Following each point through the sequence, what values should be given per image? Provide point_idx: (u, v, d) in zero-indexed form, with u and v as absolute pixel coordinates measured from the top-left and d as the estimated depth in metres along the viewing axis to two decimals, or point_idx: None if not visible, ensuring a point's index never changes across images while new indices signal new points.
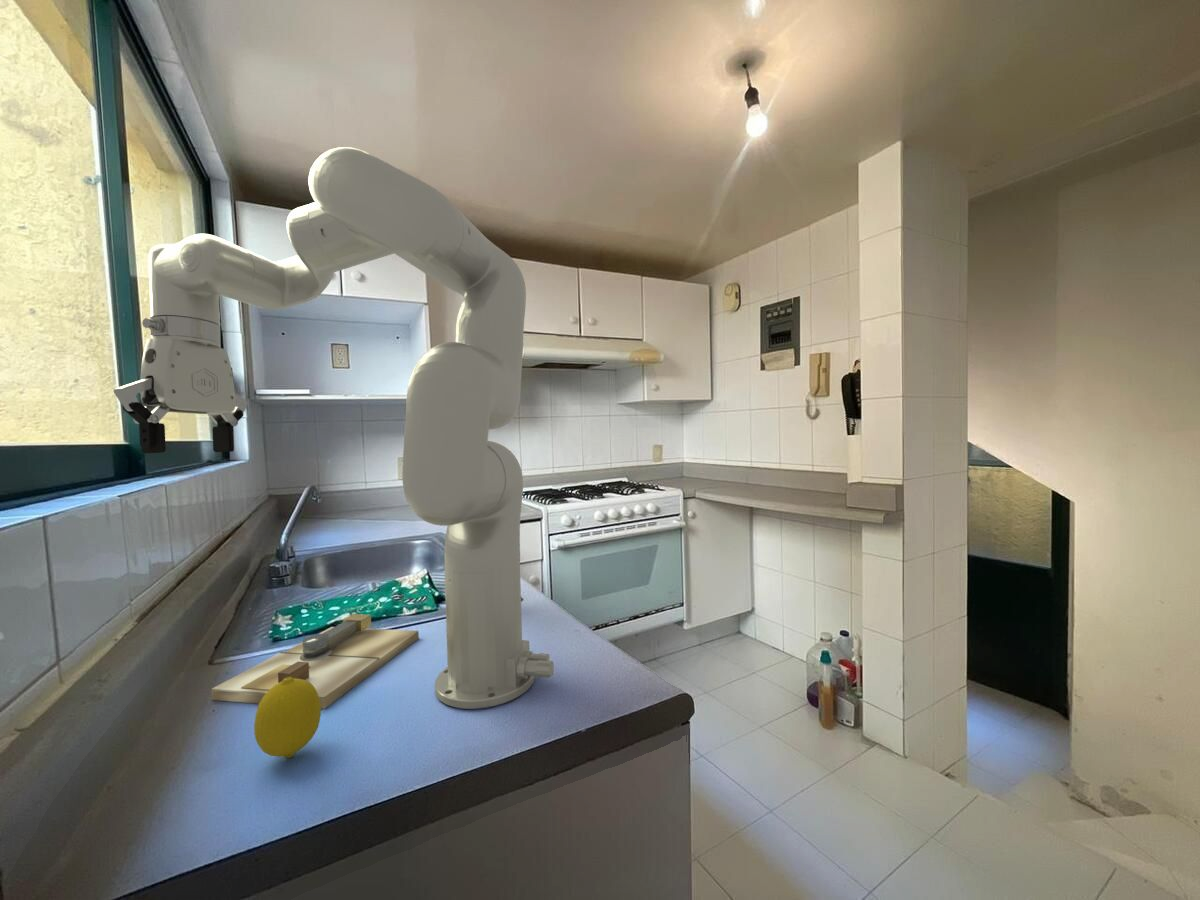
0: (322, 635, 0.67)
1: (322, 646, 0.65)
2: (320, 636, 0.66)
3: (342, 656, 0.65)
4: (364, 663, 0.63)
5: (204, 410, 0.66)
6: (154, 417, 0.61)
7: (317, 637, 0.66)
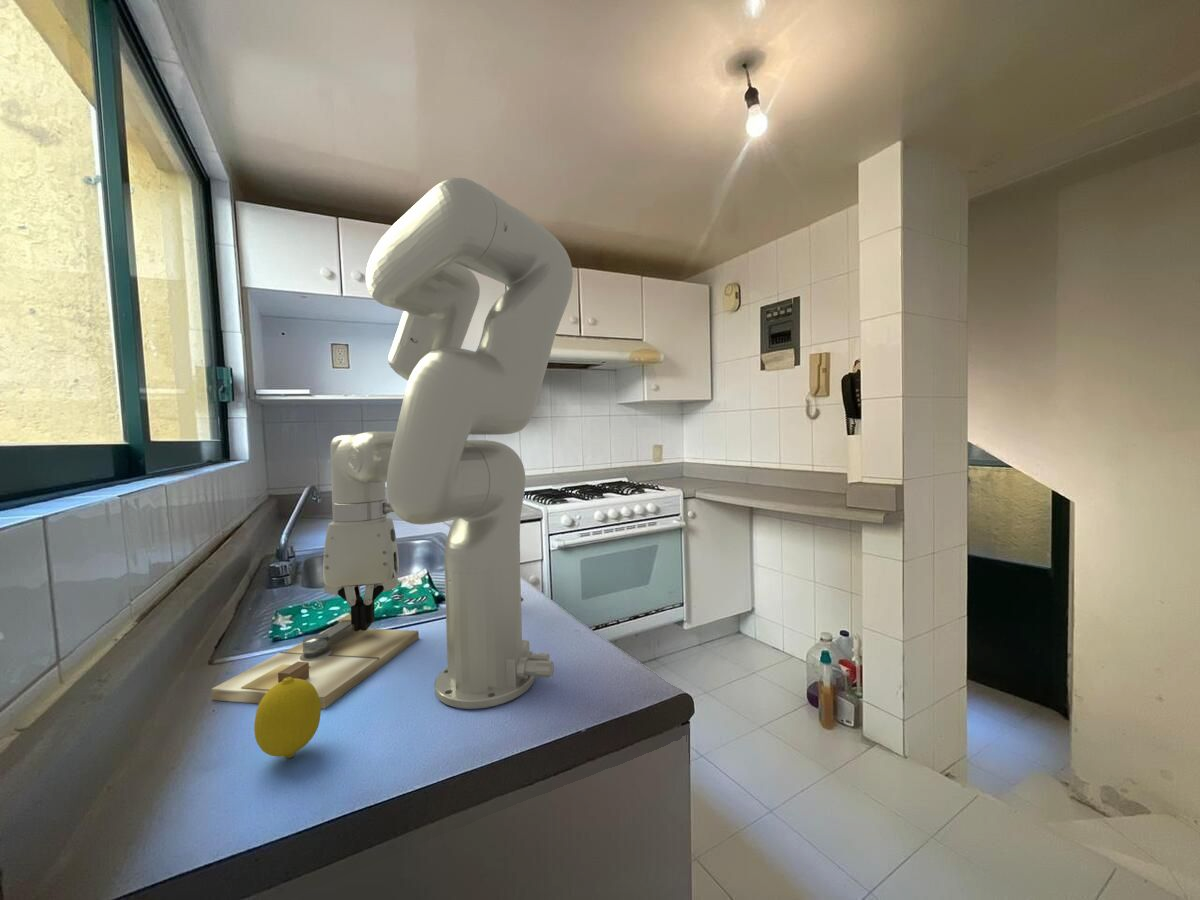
0: (322, 635, 0.67)
1: (323, 645, 0.65)
2: (320, 636, 0.66)
3: (342, 656, 0.65)
4: (364, 663, 0.63)
5: None
6: None
7: (317, 637, 0.66)
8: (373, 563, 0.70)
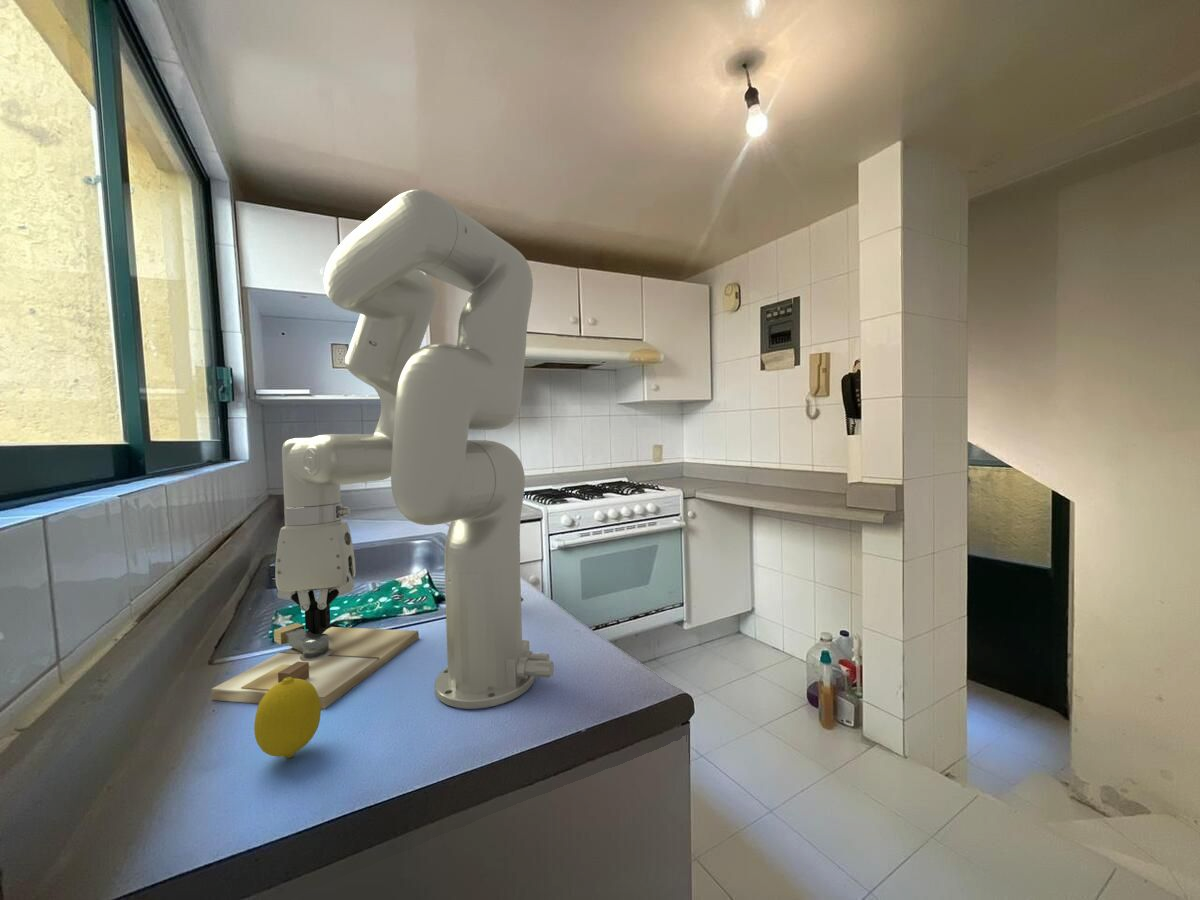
0: (314, 636, 0.66)
1: (328, 641, 0.67)
2: (315, 636, 0.66)
3: (342, 656, 0.65)
4: (364, 663, 0.63)
5: None
6: None
7: (315, 637, 0.66)
8: (326, 567, 0.69)
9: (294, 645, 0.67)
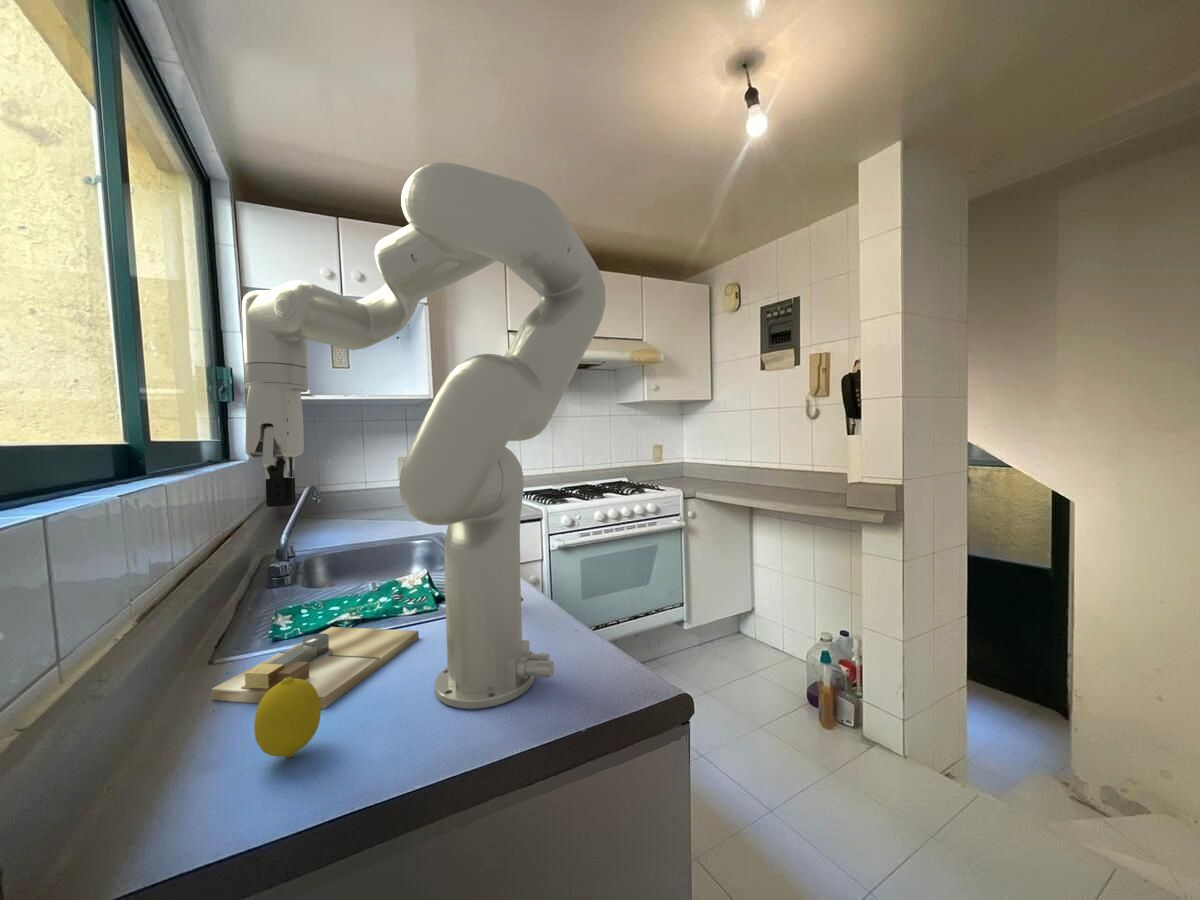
0: (309, 640, 0.65)
1: None
2: (311, 639, 0.65)
3: (342, 656, 0.65)
4: (364, 663, 0.63)
5: (258, 456, 0.65)
6: None
7: (314, 638, 0.65)
8: (302, 433, 0.69)
9: None
